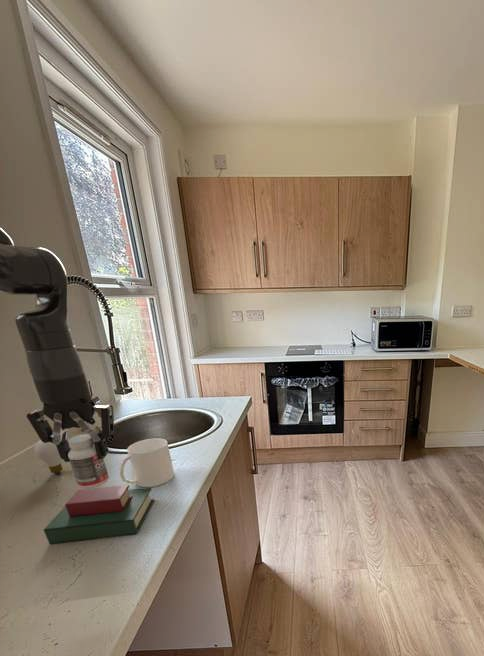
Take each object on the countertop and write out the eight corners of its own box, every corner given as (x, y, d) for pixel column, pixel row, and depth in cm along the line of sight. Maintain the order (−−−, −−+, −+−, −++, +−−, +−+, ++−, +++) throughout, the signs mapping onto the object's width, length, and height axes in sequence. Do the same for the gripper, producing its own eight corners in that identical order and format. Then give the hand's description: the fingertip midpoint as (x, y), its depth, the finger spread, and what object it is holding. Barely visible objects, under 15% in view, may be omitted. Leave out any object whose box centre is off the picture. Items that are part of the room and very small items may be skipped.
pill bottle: (108, 485, 69) (94, 440, 65) (76, 492, 67) (60, 446, 63) (110, 473, 73) (98, 430, 70) (80, 479, 71) (66, 435, 67)
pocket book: (69, 517, 69) (64, 504, 68) (82, 501, 74) (78, 489, 73) (123, 511, 70) (119, 499, 69) (132, 496, 75) (129, 484, 74)
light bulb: (41, 480, 90) (27, 445, 86) (47, 470, 95) (34, 437, 91) (68, 475, 92) (56, 441, 88) (72, 466, 97) (61, 433, 93)
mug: (168, 466, 95) (161, 435, 92) (179, 479, 89) (171, 446, 85) (120, 481, 89) (110, 448, 85) (127, 496, 82) (117, 461, 78)
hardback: (49, 544, 67) (43, 529, 66) (79, 508, 78) (74, 495, 77) (137, 534, 69) (133, 519, 68) (154, 500, 80) (151, 487, 79)
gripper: (110, 366, 66) (132, 447, 72) (27, 371, 64) (56, 453, 70) (92, 375, 59) (118, 464, 65) (-2, 381, 57) (34, 471, 64)
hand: (86, 458), depth 68 cm, fingers closed on pill bottle, 5 cm apart
